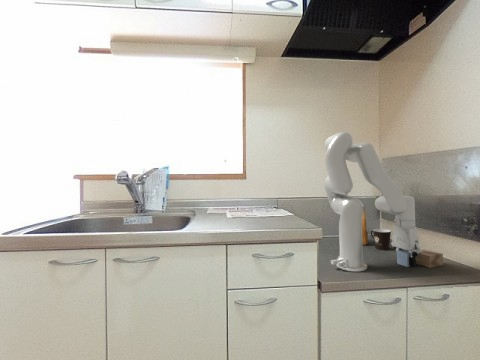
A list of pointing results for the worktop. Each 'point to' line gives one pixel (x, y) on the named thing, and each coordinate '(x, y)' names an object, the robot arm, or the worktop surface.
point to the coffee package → (364, 230)
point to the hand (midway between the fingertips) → (406, 263)
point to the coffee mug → (381, 238)
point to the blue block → (403, 257)
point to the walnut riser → (429, 258)
